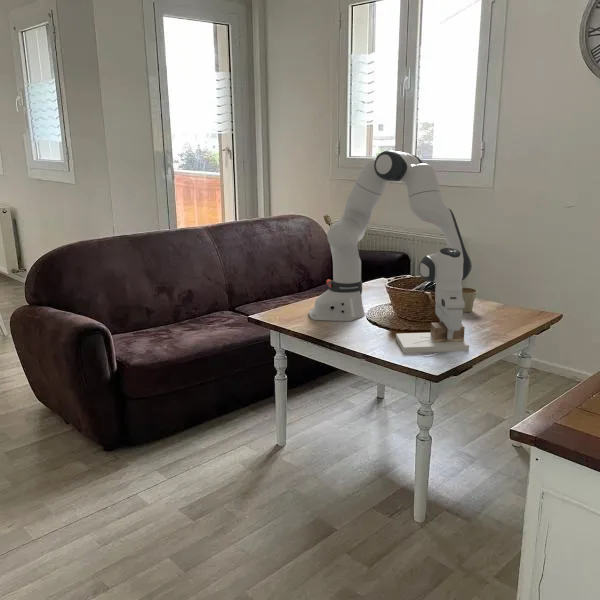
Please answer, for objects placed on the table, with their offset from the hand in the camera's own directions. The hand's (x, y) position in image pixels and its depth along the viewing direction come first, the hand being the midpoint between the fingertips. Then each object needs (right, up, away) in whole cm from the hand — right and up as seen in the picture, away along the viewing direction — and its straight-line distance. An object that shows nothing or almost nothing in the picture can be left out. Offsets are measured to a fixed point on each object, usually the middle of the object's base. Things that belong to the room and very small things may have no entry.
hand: (446, 335), depth 212 cm
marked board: (-5, -3, +1) cm, 6 cm away
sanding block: (0, -1, 0) cm, 1 cm away
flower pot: (+16, +8, +38) cm, 42 cm away
